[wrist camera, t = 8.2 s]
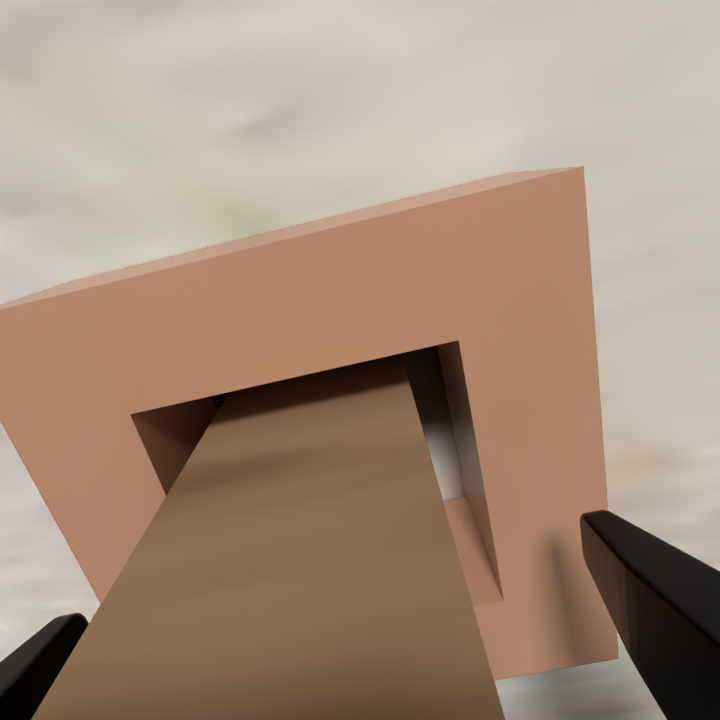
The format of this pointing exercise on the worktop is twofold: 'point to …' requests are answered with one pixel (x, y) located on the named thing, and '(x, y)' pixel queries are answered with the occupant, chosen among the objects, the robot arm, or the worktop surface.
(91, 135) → the worktop surface
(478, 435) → the frame
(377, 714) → the walnut peg
